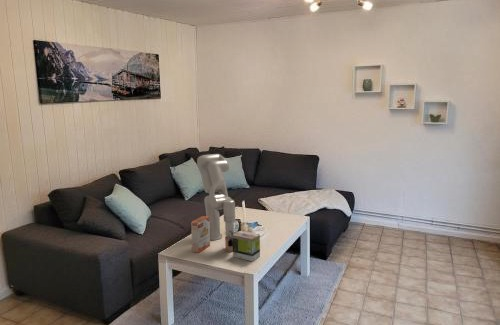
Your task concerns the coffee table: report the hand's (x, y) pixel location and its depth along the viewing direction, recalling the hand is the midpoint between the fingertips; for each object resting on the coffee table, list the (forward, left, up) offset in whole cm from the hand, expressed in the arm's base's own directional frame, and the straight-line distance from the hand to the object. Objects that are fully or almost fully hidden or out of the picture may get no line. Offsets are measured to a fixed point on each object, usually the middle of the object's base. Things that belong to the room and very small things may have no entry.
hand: (230, 243), depth 255 cm
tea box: (+10, -10, -5) cm, 15 cm away
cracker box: (-19, +5, -5) cm, 20 cm away
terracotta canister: (0, +1, -5) cm, 5 cm away
